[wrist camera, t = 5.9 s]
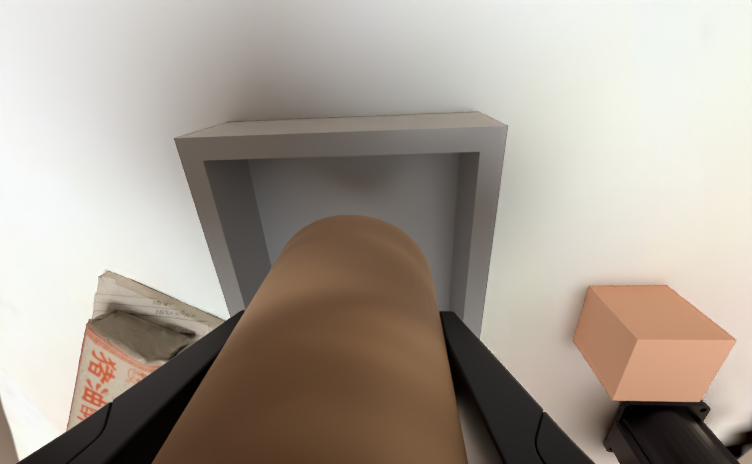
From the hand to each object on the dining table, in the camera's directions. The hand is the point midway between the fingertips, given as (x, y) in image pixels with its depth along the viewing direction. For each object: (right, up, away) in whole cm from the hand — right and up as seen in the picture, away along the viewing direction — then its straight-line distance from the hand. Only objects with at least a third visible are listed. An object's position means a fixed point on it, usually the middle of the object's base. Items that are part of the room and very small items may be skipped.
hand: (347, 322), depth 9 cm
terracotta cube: (+18, -3, +14) cm, 23 cm away
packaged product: (-19, -9, +20) cm, 29 cm away
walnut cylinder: (0, +1, +1) cm, 2 cm away
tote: (0, +1, +13) cm, 13 cm away
